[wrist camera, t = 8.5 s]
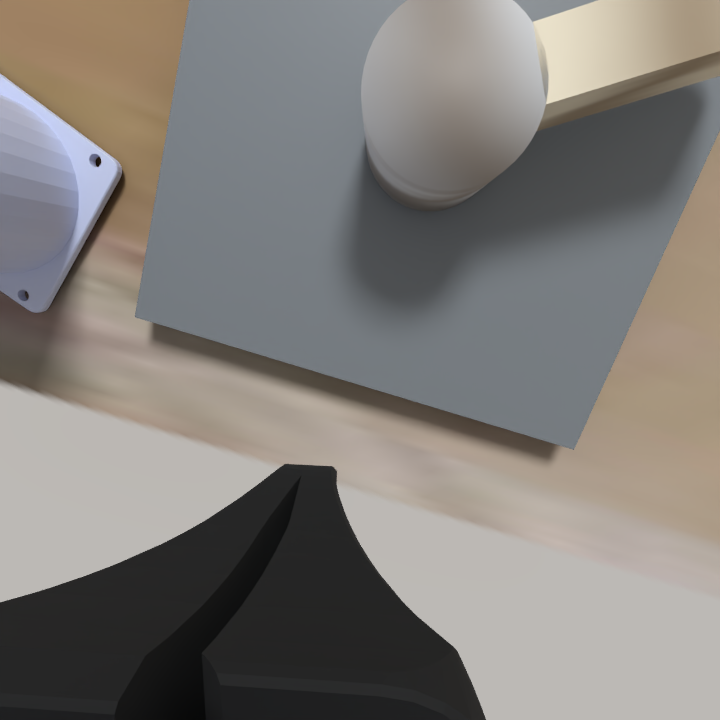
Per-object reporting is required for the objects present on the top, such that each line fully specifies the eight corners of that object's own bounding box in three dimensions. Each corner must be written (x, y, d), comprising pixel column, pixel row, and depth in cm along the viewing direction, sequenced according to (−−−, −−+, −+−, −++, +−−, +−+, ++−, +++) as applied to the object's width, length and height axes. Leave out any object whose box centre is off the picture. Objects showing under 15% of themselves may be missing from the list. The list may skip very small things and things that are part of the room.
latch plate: (153, 313, 19) (134, 317, 18) (251, -222, 15) (237, -276, 13) (559, 436, 19) (573, 449, 18) (773, -48, 15) (816, -82, 14)
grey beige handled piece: (384, 226, 16) (386, 211, 12) (350, 90, 15) (339, 18, 11) (733, 126, 15) (879, 67, 10) (721, -31, 14) (877, -168, 9)
